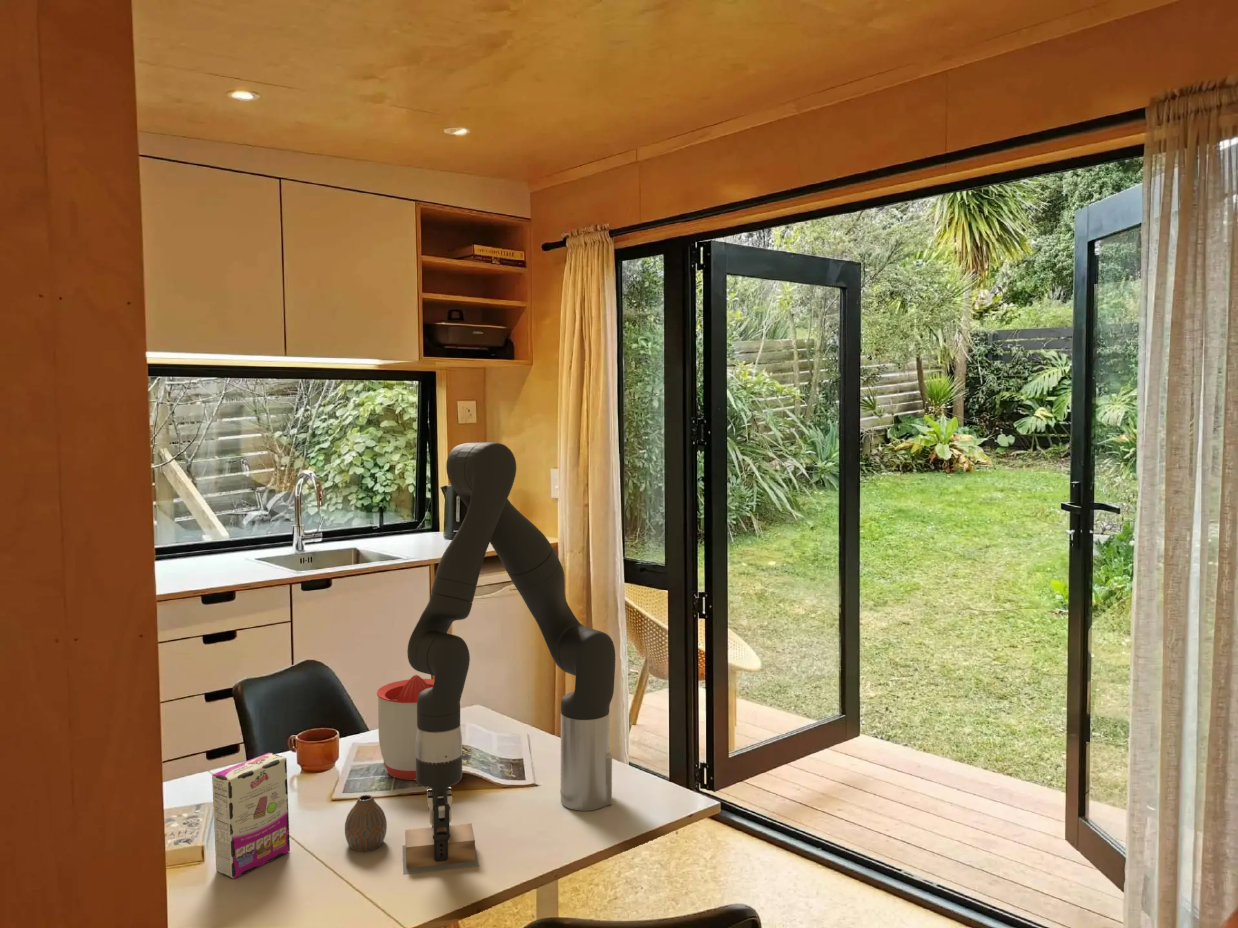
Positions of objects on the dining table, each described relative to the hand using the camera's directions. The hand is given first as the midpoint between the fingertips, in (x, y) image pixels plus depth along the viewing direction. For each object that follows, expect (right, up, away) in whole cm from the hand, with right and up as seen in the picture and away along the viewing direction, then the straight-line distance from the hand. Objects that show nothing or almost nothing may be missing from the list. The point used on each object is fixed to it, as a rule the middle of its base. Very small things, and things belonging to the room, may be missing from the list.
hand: (439, 850), depth 158 cm
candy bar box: (-31, -2, -1) cm, 31 cm away
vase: (-13, -1, +4) cm, 14 cm away
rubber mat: (0, -1, 0) cm, 1 cm away
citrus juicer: (-11, +1, +37) cm, 39 cm away
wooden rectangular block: (0, -1, 0) cm, 1 cm away
